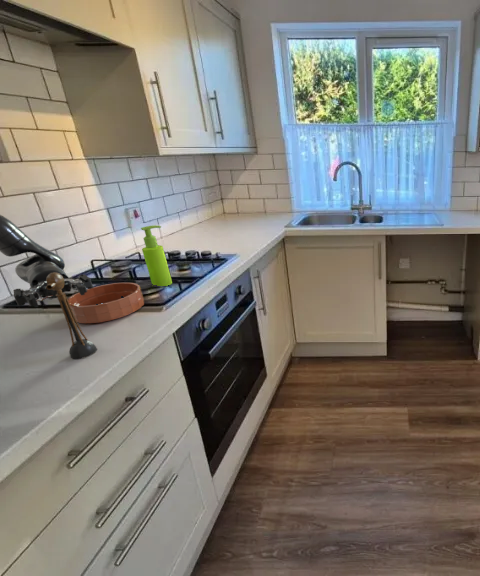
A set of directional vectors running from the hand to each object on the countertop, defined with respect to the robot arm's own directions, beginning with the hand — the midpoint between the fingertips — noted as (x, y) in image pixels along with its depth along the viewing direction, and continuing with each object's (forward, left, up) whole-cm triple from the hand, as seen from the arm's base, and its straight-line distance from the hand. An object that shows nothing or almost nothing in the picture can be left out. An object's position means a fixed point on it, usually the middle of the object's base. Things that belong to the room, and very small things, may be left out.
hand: (59, 296), depth 84 cm
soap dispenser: (+28, +26, -12) cm, 40 cm away
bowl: (+10, +15, -12) cm, 22 cm away
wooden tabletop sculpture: (0, -8, -12) cm, 15 cm away
